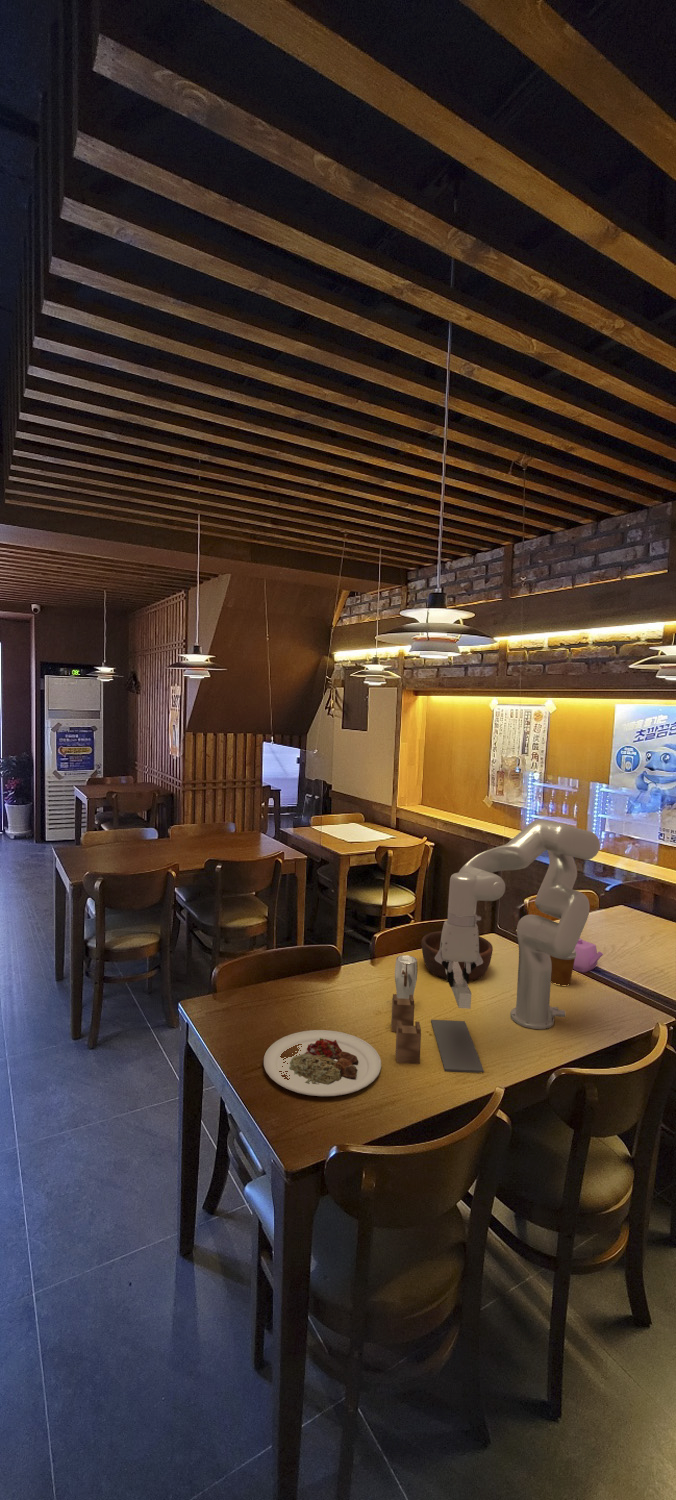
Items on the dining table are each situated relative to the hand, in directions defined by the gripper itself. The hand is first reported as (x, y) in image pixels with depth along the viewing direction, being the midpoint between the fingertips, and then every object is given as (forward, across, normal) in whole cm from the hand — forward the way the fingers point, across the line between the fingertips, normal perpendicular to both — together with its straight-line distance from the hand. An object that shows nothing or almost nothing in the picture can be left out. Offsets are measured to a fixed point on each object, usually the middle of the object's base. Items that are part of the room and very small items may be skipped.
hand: (457, 984), depth 172 cm
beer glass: (+17, +11, -22) cm, 31 cm away
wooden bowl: (+17, -10, -52) cm, 56 cm away
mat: (+17, -1, 0) cm, 17 cm away
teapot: (+16, -57, -61) cm, 85 cm away
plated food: (+18, +36, +12) cm, 42 cm away
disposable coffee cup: (+16, -45, -45) cm, 66 cm away
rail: (+1, 0, 0) cm, 1 cm away
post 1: (+17, +13, -8) cm, 23 cm away
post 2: (+18, +13, +8) cm, 23 cm away
